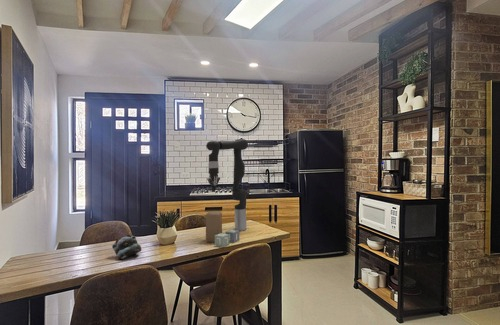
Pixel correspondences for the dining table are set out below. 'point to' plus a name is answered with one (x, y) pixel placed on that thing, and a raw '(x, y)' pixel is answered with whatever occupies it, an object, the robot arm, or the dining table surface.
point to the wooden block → (213, 225)
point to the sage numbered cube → (221, 240)
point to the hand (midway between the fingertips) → (214, 190)
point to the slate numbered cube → (233, 235)
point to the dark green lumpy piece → (126, 247)
